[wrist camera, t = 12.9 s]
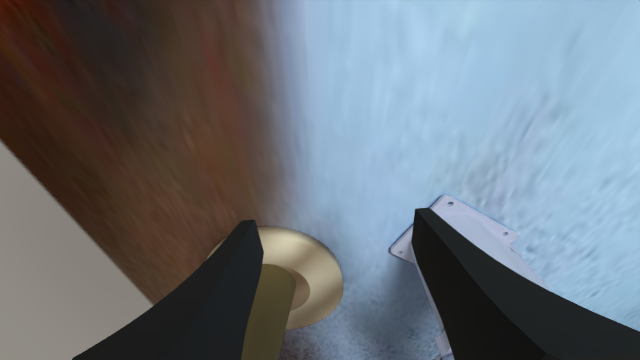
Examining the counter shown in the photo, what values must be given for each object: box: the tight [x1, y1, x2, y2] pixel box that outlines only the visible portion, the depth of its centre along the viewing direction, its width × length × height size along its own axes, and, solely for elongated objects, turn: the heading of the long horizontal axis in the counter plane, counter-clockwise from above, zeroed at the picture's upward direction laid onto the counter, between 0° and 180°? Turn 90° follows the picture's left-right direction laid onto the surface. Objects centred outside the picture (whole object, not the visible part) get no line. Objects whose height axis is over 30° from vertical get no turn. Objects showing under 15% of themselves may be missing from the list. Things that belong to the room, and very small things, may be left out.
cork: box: [241, 264, 296, 360], centre depth 23 cm, size 6×6×11 cm
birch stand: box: [206, 227, 343, 330], centre depth 29 cm, size 15×15×2 cm
